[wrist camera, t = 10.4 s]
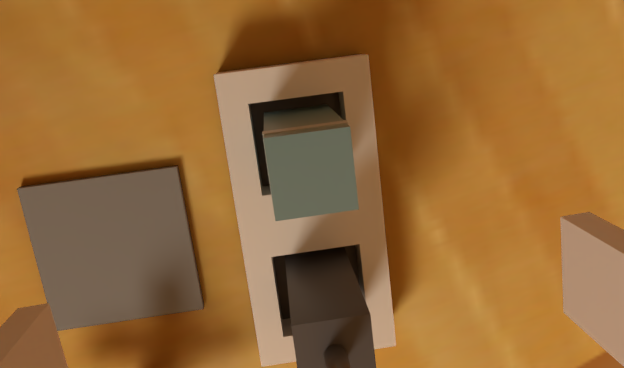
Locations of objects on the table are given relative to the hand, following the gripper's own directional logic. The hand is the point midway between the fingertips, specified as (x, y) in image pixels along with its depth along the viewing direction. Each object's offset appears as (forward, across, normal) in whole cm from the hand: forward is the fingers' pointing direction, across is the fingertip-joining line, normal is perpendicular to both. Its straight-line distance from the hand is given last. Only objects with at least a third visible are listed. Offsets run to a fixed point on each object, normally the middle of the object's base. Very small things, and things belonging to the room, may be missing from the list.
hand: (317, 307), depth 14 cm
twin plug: (+23, +1, -9) cm, 25 cm away
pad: (+23, -12, -5) cm, 26 cm away
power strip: (+23, +1, -4) cm, 23 cm away
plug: (+22, +1, 0) cm, 22 cm away
